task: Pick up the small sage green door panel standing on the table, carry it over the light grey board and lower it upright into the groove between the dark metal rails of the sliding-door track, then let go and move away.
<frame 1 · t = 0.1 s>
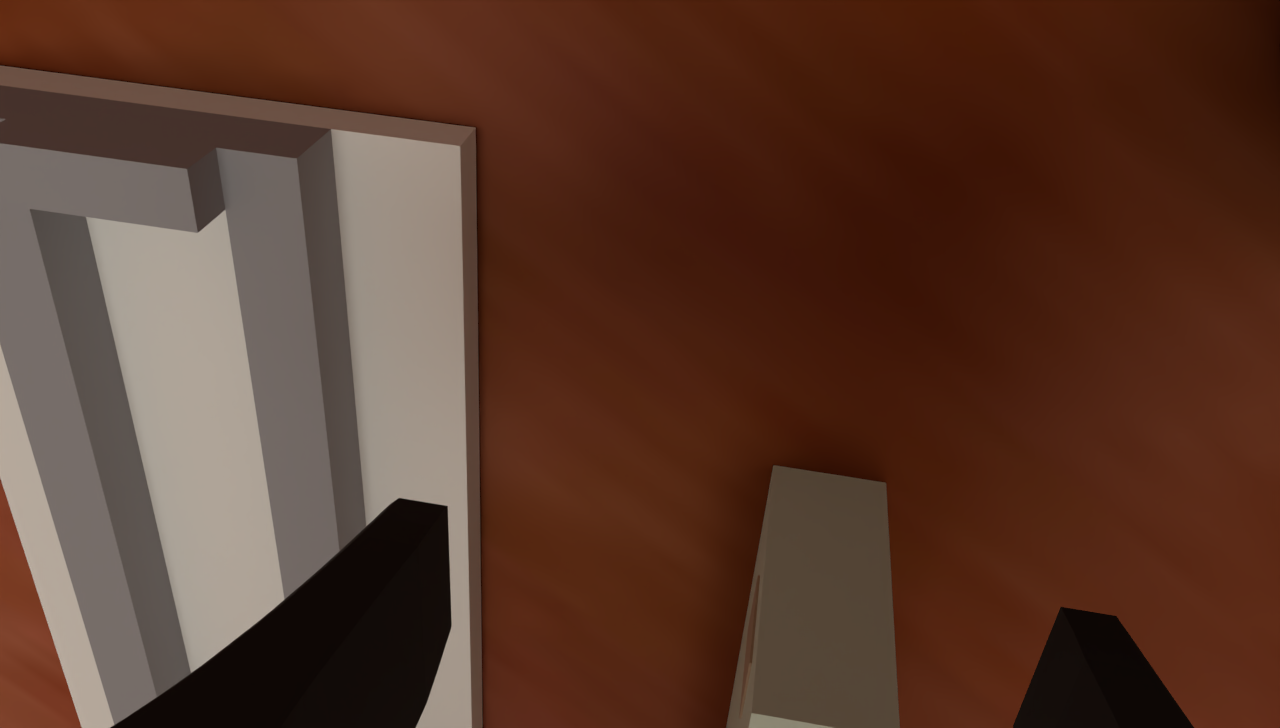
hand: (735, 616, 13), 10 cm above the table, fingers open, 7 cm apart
door track: (251, 511, 27), on the table
door panel: (789, 655, 27), on the table
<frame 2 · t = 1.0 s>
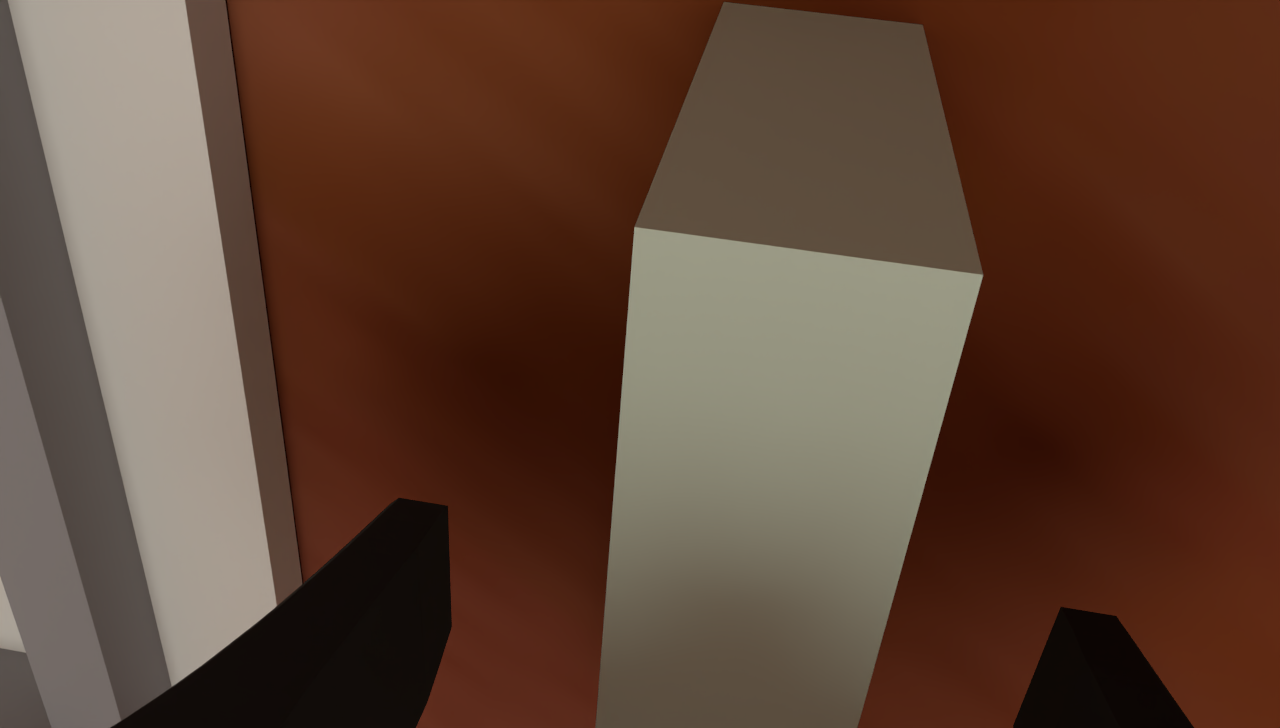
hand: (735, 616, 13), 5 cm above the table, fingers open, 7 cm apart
door panel: (759, 400, 17), on the table
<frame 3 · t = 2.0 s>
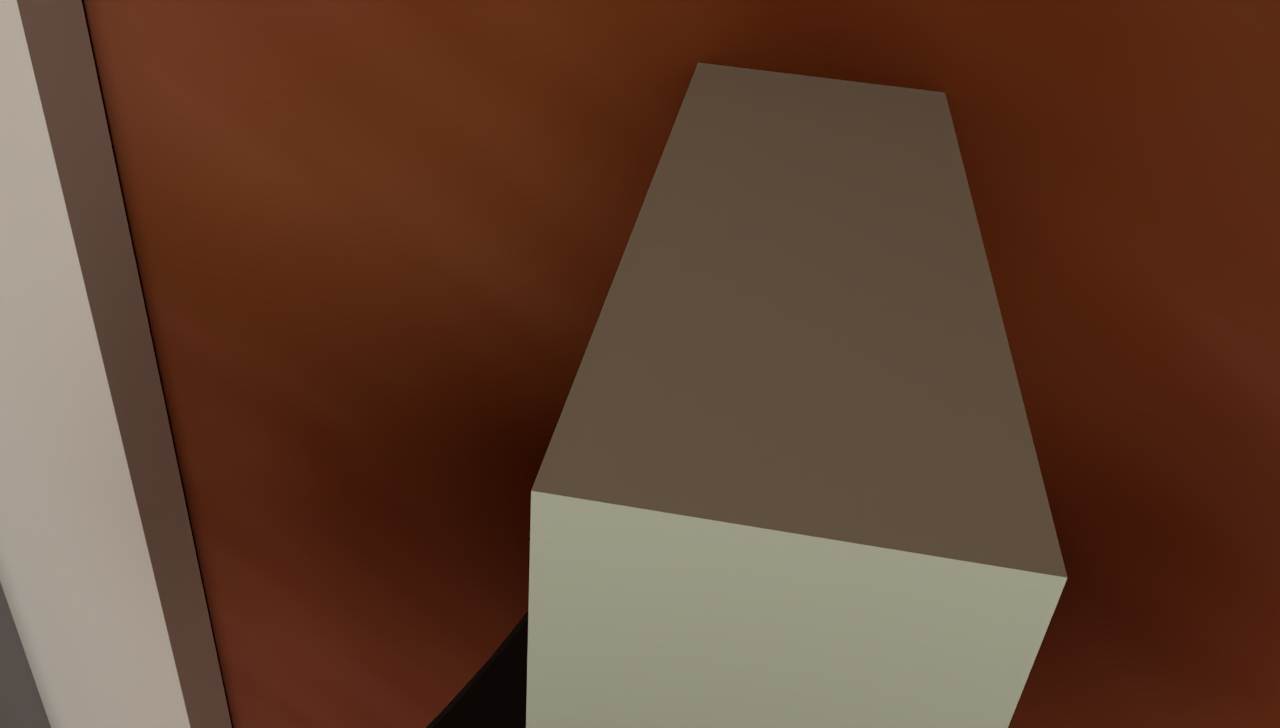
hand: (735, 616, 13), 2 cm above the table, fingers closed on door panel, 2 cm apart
door panel: (745, 524, 14), on the table, touching gripper
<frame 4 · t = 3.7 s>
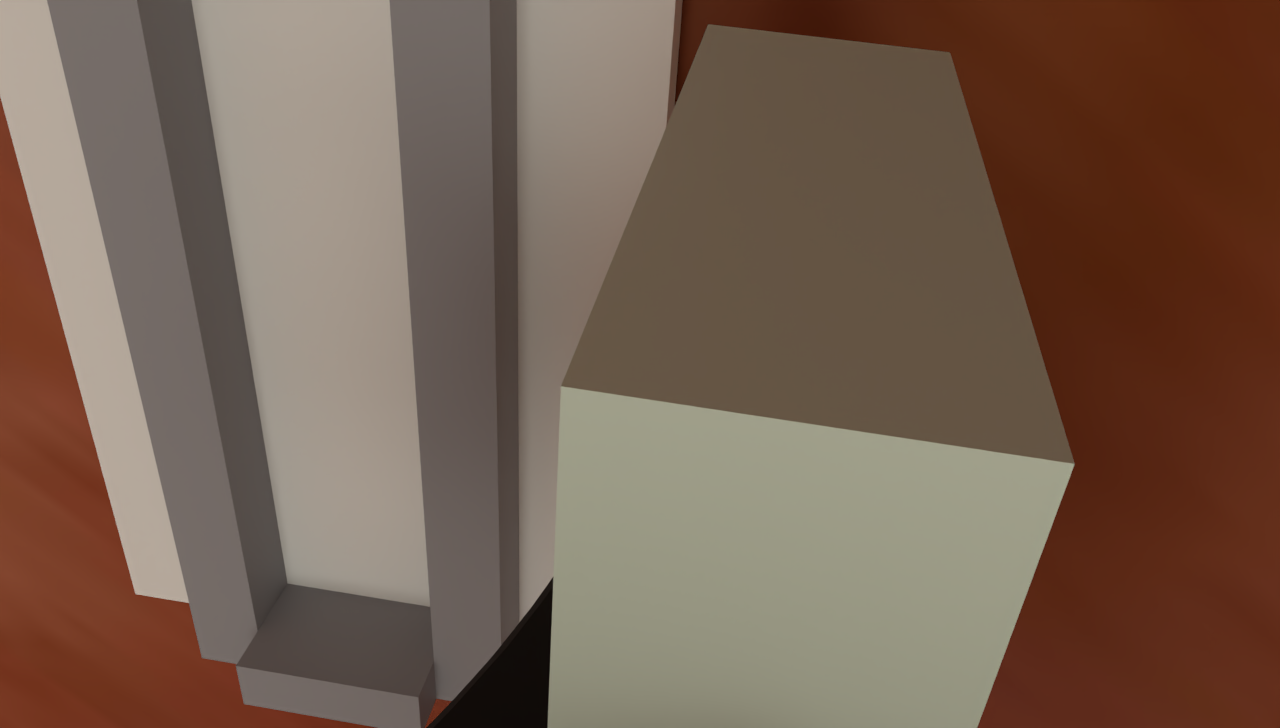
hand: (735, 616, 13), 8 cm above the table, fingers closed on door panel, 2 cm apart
door track: (349, 181, 20), on the table
door panel: (752, 488, 14), point 6 cm above the table, touching gripper
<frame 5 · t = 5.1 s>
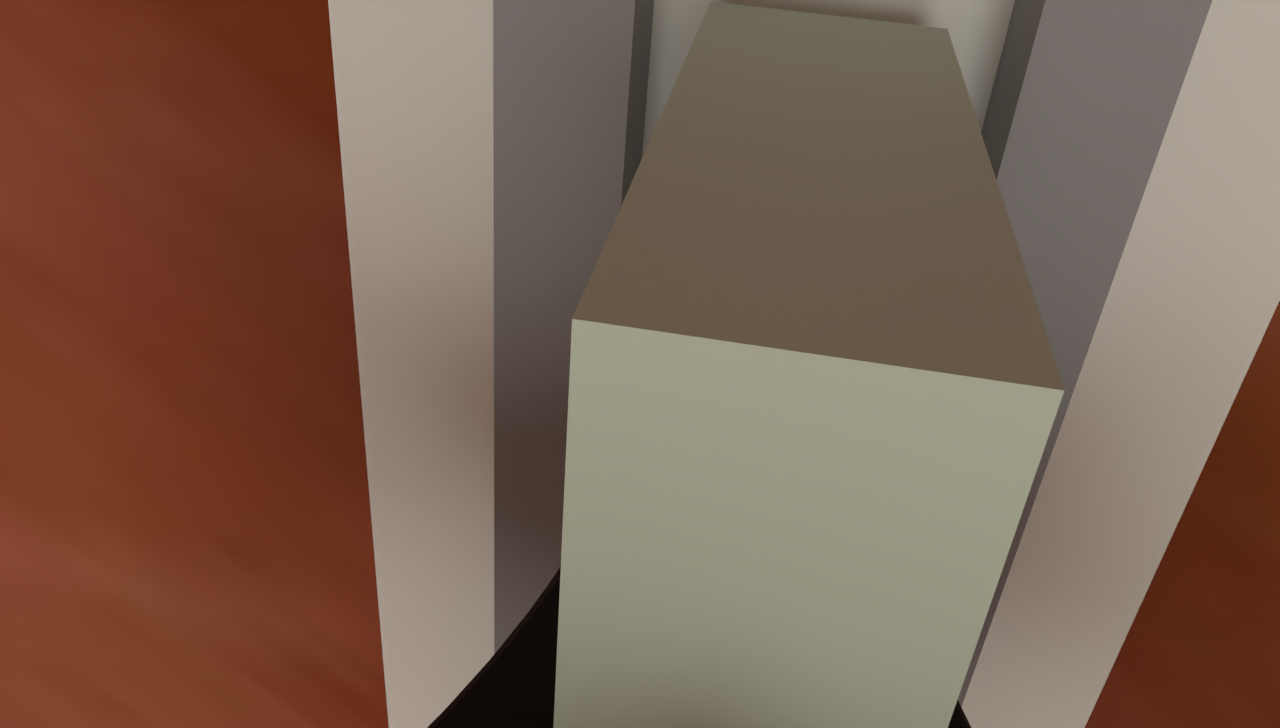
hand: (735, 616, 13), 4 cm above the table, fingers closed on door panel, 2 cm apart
door track: (760, 409, 16), on the table
door panel: (753, 463, 15), point 2 cm above the table, touching gripper
when the fingers open (3 cm above the table, at t = 5.6 s): door panel stays where it is, resting on door track.
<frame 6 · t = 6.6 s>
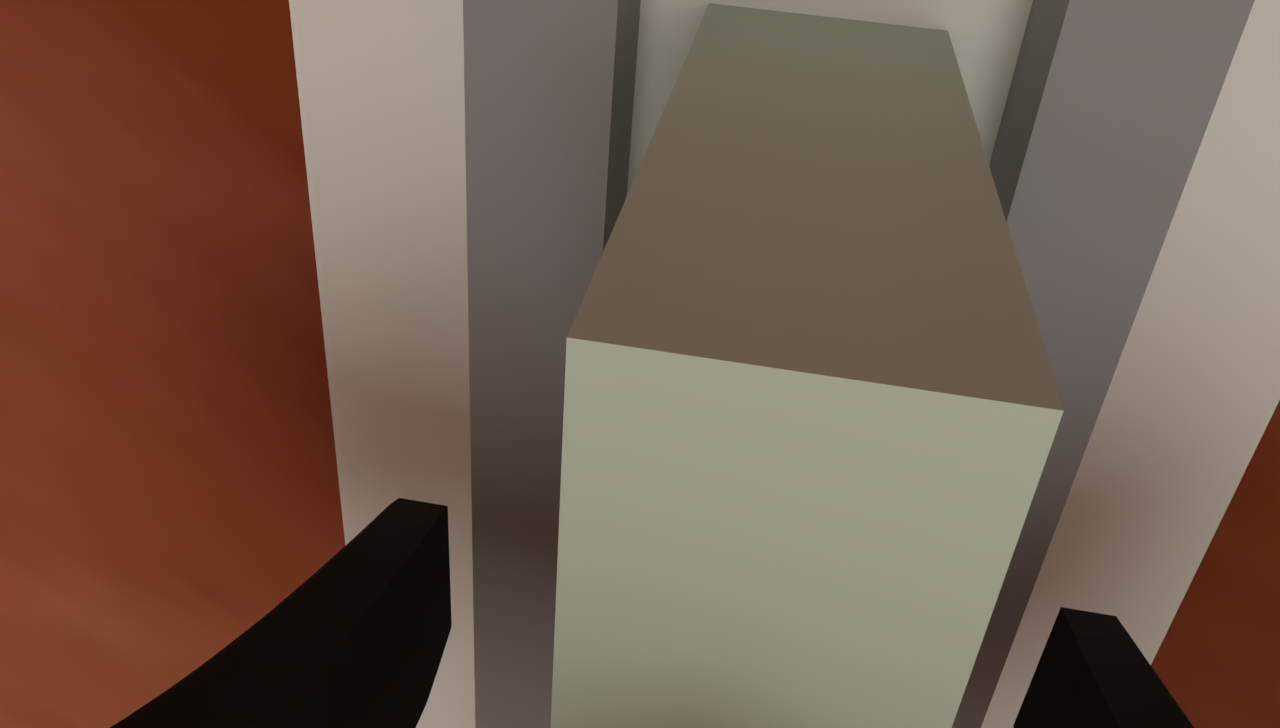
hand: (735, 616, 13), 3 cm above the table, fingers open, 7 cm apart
door track: (755, 446, 16), on the table
door panel: (753, 465, 14), point 1 cm above the table, touching door track
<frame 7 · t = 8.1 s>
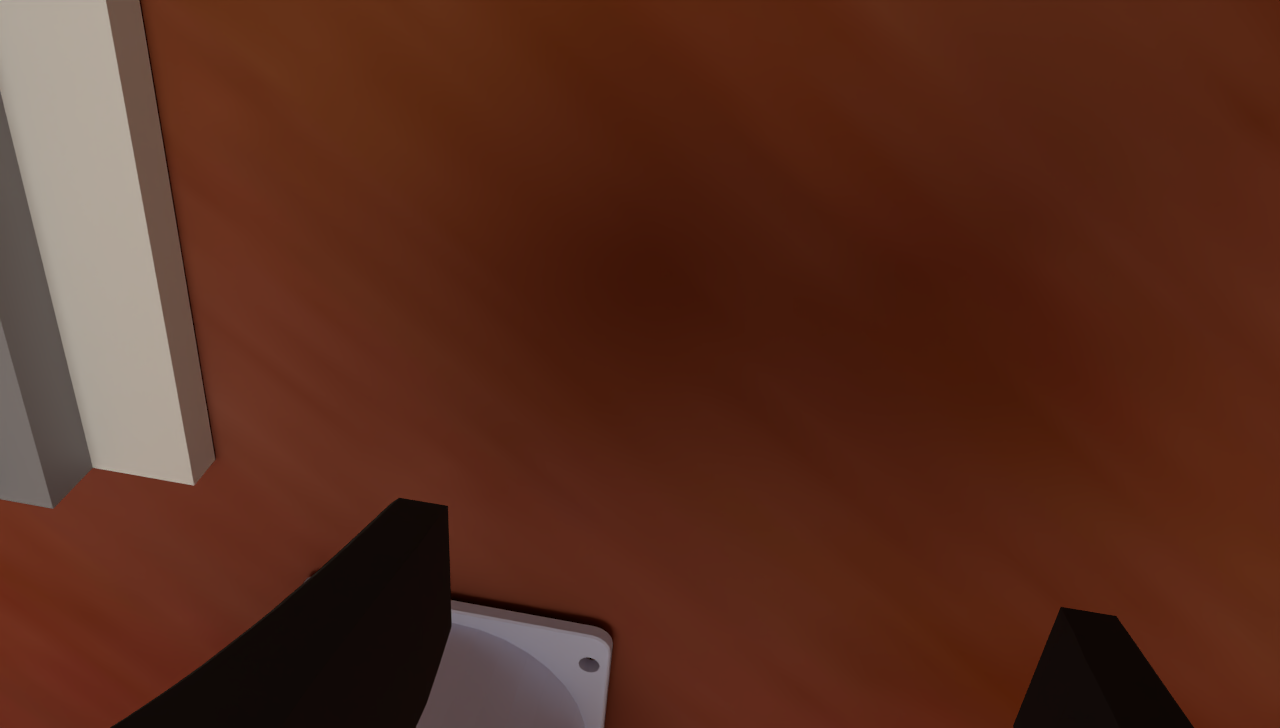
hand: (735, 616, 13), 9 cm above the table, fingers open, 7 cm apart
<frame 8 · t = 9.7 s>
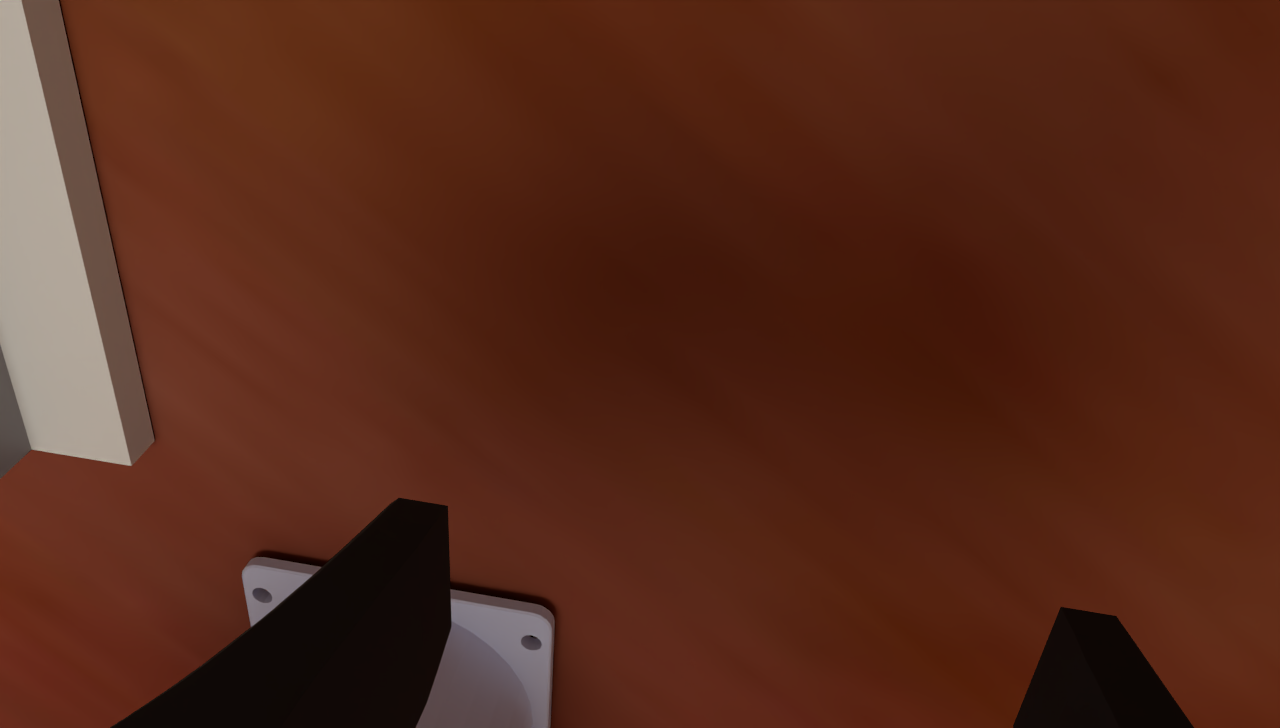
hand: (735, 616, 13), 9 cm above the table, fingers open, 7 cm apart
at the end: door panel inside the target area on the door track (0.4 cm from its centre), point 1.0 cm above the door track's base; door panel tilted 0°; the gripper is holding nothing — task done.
